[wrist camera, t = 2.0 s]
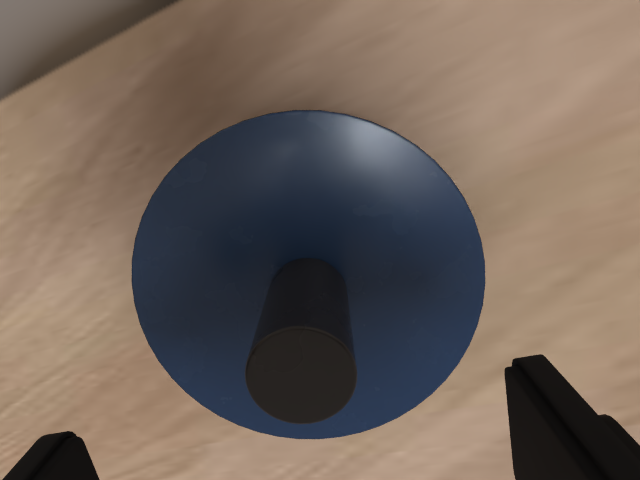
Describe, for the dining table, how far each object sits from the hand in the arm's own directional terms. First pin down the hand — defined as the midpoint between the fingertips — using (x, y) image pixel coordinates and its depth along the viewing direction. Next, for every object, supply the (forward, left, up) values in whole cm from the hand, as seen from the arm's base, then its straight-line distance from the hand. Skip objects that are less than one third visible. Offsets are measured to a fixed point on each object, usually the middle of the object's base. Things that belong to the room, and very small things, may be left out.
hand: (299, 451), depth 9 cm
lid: (0, 0, -8) cm, 8 cm away
